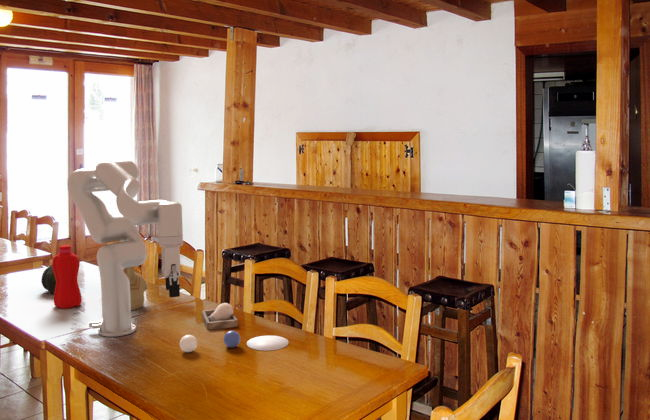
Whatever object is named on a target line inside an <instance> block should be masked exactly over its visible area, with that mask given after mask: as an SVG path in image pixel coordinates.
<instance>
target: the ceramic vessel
mask: <svg viewBox="0 0 650 420" xmlns="http://www.w3.org/2000/svg"><path fill="white" fill-rule="evenodd" d="M123 271H124V273H125V274H126V275H127V277H128V279H129V282H130V302H131V311H136V310H139V309H141V308H142V307H143V305H144V303H145V291H146V290H147V289H148V285H147V282H146V279H145V278H144V276H143V275H142V274H140V273H138V272H136V271H135V267H130V268H126V269H123Z"/></svg>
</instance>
